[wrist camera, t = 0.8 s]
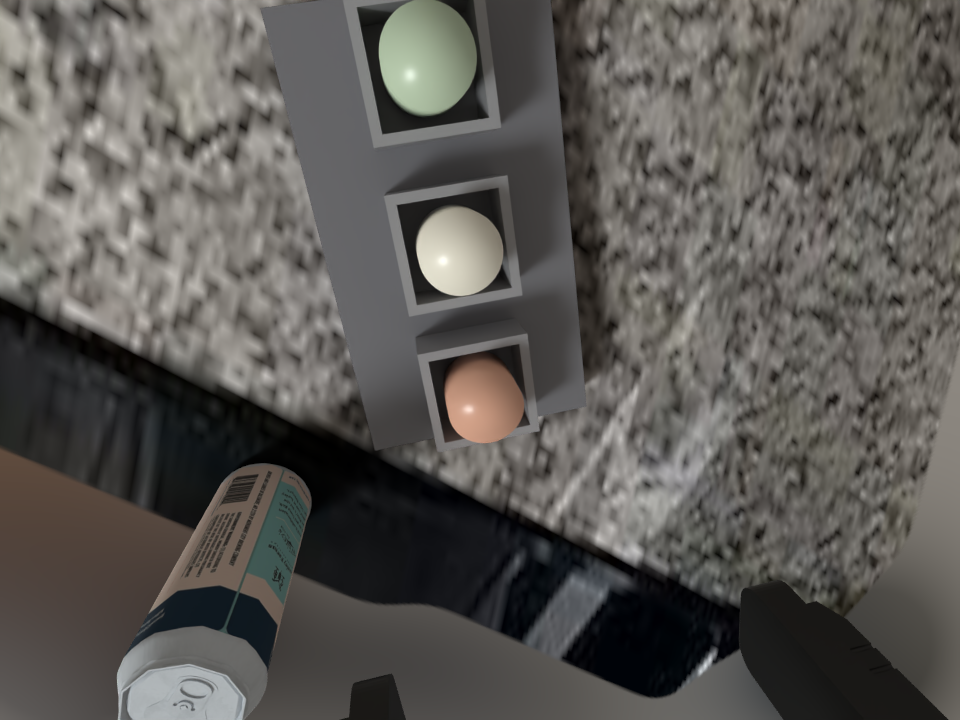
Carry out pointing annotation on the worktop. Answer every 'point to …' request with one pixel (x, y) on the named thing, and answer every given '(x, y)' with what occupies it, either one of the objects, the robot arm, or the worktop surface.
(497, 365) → the terracotta button
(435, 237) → the cream button
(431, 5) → the sage button
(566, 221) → the grey boxy piece
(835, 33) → the worktop surface
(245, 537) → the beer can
